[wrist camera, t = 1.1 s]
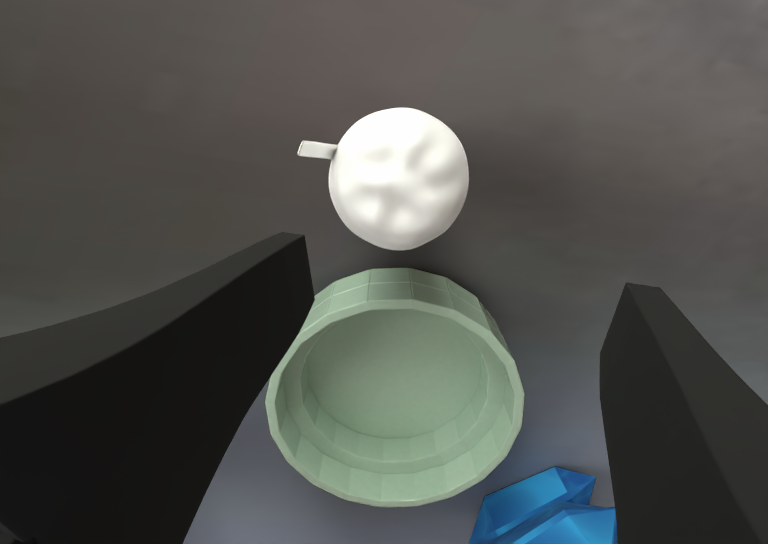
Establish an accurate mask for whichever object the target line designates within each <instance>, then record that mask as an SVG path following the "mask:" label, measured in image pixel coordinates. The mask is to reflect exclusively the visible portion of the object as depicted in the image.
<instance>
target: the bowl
mask: <svg viewBox="0 0 768 544" xmlns="http://www.w3.org/2000/svg"><path fill="white" fill-rule="evenodd" d="M314 298H315V301H314V303H313V305H312V307H311V309H310V312H309V314H308V316H307V318H306V320H305V322H304V324H303V326H302V328H301V330H300V332H299V334H298V336H297V337H296V339H295V340H294V342H293V343H292V345H291V346H290V348H289V349H288V351H287V353H286V354H285V356H284V357H283V359H282V360H281V362H280V363H279V365H278V366H277V368H276V369H275V371H274V372H273V374H272V375H271V376H270V381H269V385H268V390H267V395H266V399H265V405H266V410H267V416H268V422H269V427H270V433H271V436H272V437H273V439H274V441H275V442H276V444H277V446H278V447H279V449H280V451H281V452H282V454H283V456H284V458H285V459H286V461H287V462H288V463H289V464H290V465H291V466H292V467H293V468H294V469H296V470H297V471H298V472H299V473H300V474H301V475H302V476H304V477H305V478H306V479H307V480H308V481H309V482H310V483H312V484H313V485H314V486H317V487H319V488H321V489H323V490H325V491H327V492H329V493H331V494H333V495H335V496H337V497H340V498H342V499H344V500H347V501H352V502H357V503H362V504H367V505H371V506H376V507H414V506H420V505H424V504H428V503H432V502H436V501H440V500H443V499H447V498H451V497H453V496H455V495H457V494H459V493H460V492H462V491H464V490H466V489H468V488H470V487H471V486H473V485H475V484H477V483H479V482H481V481H482V480H483V479H484V478H486V477H487V476H488V475H489V474H490V473H491V472H492V471H493V470H494V469H495V468H496V467H497V466H498V465H499V464H500V463H501V462H502V461H503V460H504V459H505V458H506V456H507V455H508V453H509V451H510V449H511V447H512V445H513V443H514V441H515V439H516V437H517V435H518V433H519V431H520V429H521V427H522V418H523V408H524V398H525V393H524V389H523V386H522V383H521V379H520V376H519V373H518V370H517V366H516V363H515V361H514V358H513V356H512V354H511V352H510V350H509V348H508V346H507V344H506V342H505V340H504V337H503V335H502V333H501V331H500V329H499V327H498V325H497V323H496V321H495V320H494V319H493V317H492V316H491V315H490V313H489V312H488V311H487V310H486V308H485V307H484V306H483V305H482V303H481V302H480V301H479V299H478V298H477V297H476V296H475V295H473V294H471V293H470V292H468V291H467V290H465V289H464V288H462V287H460V286H459V285H457V284H456V283H454V282H453V281H451V280H449V279H448V278H445V277H442V276H439V275H435V274H431V273H427V272H424V271H420V270H416V269H412V268H384V269H371V270H366V271H363V272H360V273H358V274H355V275H352V276H349V277H346V278H343V279H340V280H337V281H335V282H333V283H332V284H330V285H329V286H328V287H326V288H325V289H324V290H322V291H321V292H320V293H318V294H317V295H316V296H314Z"/></svg>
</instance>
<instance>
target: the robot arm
mask: <svg viewBox="0 0 768 544" xmlns="http://www.w3.org/2000/svg"><path fill="white" fill-rule="evenodd" d="M314 301H315V298H314V291H313V285H312V279H311V273H310V267H309V260H308V254H307V248H306V242H305V236H304V235H299V234H292V233H285V232H281V233H279V234H276V235H274V236H271V237H269V238H267V239H265V240H262V241H260V242H258V243H256V244H254V245H252V246H250V247H248V248H246V249H244V250H242V251H240V252H238V253H236V254H234V255H232V256H230V257H228V258H226V259H224V260H222V261H220V262H218V263H216V264H213V265H211V266H209V267H207V268H205V269H203V270H201V271H199V272H196V273H194V274H192V275H190V276H188V277H185V278H183V279H181V280H179V281H177V282H174V283H172V284H170V285H168V286H165V287H163V288H161V289H158V290H156V291H154V292H151V293H148V294H146V295H143V296H141V297H138V298H135V299H133V300H130V301H127V302H124V303H122V304H119V305H116V306H113V307H110V308H107V309H104V310H101V311H98V312H95V313H91V314H88V315H85V316H81V317H78V318H75V319H71V320H68V321H65V322H61V323H58V324H55V325H51V326H47V327H43V328H39V329H35V330H32V331H28V332H24V333H19V334H15V335H11V336H6V337H2V338H0V544H183V542H184V539H185V537H186V535H187V533H188V530H189V528H190V526H191V524H192V521H193V519H194V517H195V515H196V513H197V510H198V508H199V506H200V504H201V502H202V499H203V497H204V495H205V493H206V491H207V489H208V487H209V485H210V483H211V480H212V478H213V476H214V474H215V472H216V470H217V468H218V466H219V464H220V462H221V460H222V458H223V456H224V454H225V452H226V450H227V448H228V446H229V445H230V443H231V441H232V439H233V437H234V435H235V433H236V431H237V429H238V427H239V426H240V424H241V422H242V420H243V418H244V417H245V415H246V413H247V412H248V410H249V408H250V407H251V405H252V403H253V402H254V400H255V399H256V397H257V396H258V394H259V393H260V391H261V390H262V388H263V387H264V385H265V384H266V382H267V381H268V379H269V378H270V376H271V375H272V374H273V372H274V371H275V369H276V368H277V366H278V365H279V363H280V362H281V360H282V359H283V357H284V356H285V354H286V353H287V351H288V349H289V348H290V346H291V345H292V343H293V342H294V340H295V339H296V337H297V336H298V334H299V332H300V330H301V328H302V326H303V324H304V322H305V320H306V318H307V316H308V314H309V312H310V309H311V307H312V305H313V303H314ZM600 401H601V409H602V416H603V423H604V431H605V438H606V445H607V452H608V459H609V466H610V473H611V480H612V487H613V494H614V501H615V512H616V522H617V544H768V405H767V404H766V403H765V402H764V401H763V400H762V399H761V398H760V397H759V396H758V395H757V394H756V393H755V392H754V391H753V390H752V389H751V388H750V387H749V386H748V385H747V384H746V383H745V382H744V381H743V380H742V379H741V378H740V377H739V376H738V375H737V374H736V373H735V372H734V371H733V370H732V369H731V368H730V366H729V365H728V364H727V363H726V362H725V361H724V360H723V359H722V358H721V357H720V356H719V355H718V353H717V352H716V351H715V350H714V349H713V348H712V347H711V346H710V345H709V343H708V342H707V341H706V340H705V339H704V338H703V337H702V336H701V334H700V333H699V332H698V331H697V330H696V329H695V327H694V326H693V325H692V324H691V323H690V322H689V321H688V319H687V318H686V317H685V316H684V315H683V314H682V312H681V311H680V310H679V309H678V308H677V307H676V305H675V304H674V303H673V302H672V301H671V300H670V298H669V297H668V296H667V295H666V294H665V293H664V292H663V291H662V289H661V288H660V287H653V286H646V285H639V284H632V283H626V284H625V287H624V289H623V292H622V295H621V298H620V300H619V303H618V306H617V308H616V311H615V314H614V317H613V319H612V322H611V325H610V328H609V330H608V333H607V336H606V339H605V341H604V344H603V347H602V349H601V352H600Z"/></svg>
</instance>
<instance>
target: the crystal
mask: <svg viewBox="0 0 768 544" xmlns="http://www.w3.org/2000/svg"><path fill="white" fill-rule="evenodd" d="M595 480H596V477H593V476H589V475H585V474H581V473H577V472H573V471H569V470H565V469H562V468H558V467H553V468H551V469H548V470H546V471H544V472H541V473H539V474H536V475H534V476H532V477H529V478H527V479H525V480H522V481H520V482H518V483H515V484H513V485H510V486H508V487H506V488H503V489H501V490H499V491H496V492H494V493H492V494H489V495H487V496H485V498H484V501H483V503H482V506H481V509H480V512H479V515H478V518H477V521H476V524H475V527H474V530H473V532H472V535H471V538H470V541H469V544H617V522H616V512H615V507H610V508H604V507H597V506H591V505H589V501H590V498H591V494H592V491H593V487H594V483H595Z"/></svg>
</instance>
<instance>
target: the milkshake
mask: <svg viewBox="0 0 768 544" xmlns="http://www.w3.org/2000/svg"><path fill="white" fill-rule="evenodd" d="M297 155H298V156H303V157H314V158H325V159H332V161H331V165H330V170H329V190H330V195H331V199H332V202H333V204H334V207H335V209H336V211H337V213H338V215H339V216H340V218H341V219H342V221H343V222H344V224H345V225H346V226H347V227H348V228H349V229H350V230H351V231H352V232H353V233H355V234H356V235H357V236H359V237H360V238H362V239H364V240H366V241H367V242H369V243H371V244H374V245H376V246H378V247H381V248H385V249H390V250H409V249H413V248H416V247H419V246H421V245H423V244H425V243H427V242H429V241H431V240H433V239H435V238H436V237H438V236H440V235H441V234H443V233H444V232H445V231H446V230H447V229H448V228H449V227H450V226H451V225H452V223H453V222H454V221H455V219H456V218H457V216H458V215H459V213H460V211H461V209H462V207H463V204H464V202H465V199H466V196H467V191H468V185H469V171H468V163H467V158H466V154H465V151H464V149H463V146H462V144H461V142H460V141H459V139H458V138H457V136H456V135H455V134H454V133H453V131H452V130H451V129H450V128H449V127H447V126H446V125H445V124H444V123H442V122H441V121H440V120H438V119H436V118H435V117H433V116H431V115H429V114H427V113H425V112H422V111H419V110H416V109H412V108H392V109H387V110H382V111H378V112H375V113H372V114H370V115H368V116H366V117H364V118H362V119H360V120H359V121H358V122H356V123H355V124H354V125H353V126H352V127H351V128H350V129H349V130H348V131H347V132H346V133H345V135H344V136H343V137H342V139H341V141H340V142H339V144H338V145H333V144H327V143H320V142H314V141H307V140H303V141H302V142H301V145H300V147H299V150H298V153H297Z"/></svg>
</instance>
